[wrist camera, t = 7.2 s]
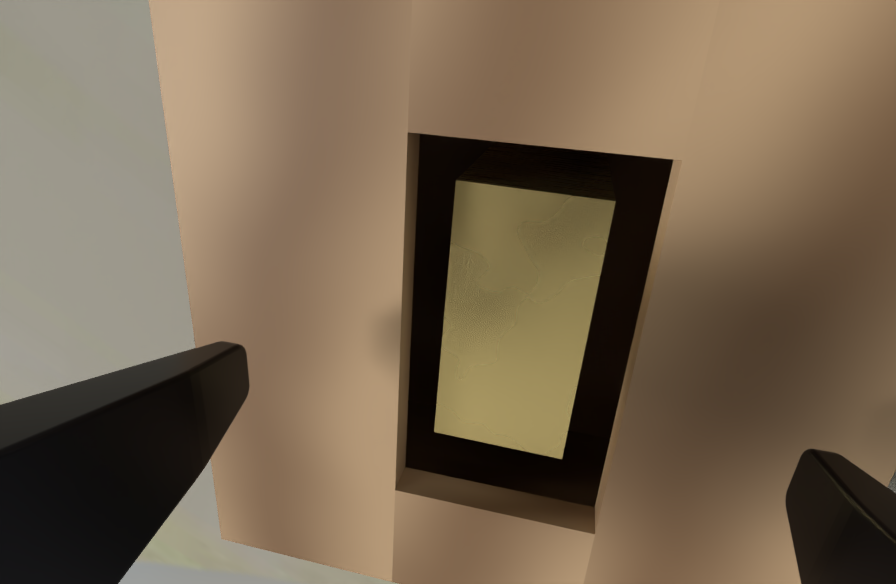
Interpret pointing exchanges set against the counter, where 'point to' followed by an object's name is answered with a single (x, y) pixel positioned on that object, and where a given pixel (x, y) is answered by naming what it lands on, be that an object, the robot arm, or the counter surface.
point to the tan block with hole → (619, 290)
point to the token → (521, 293)
